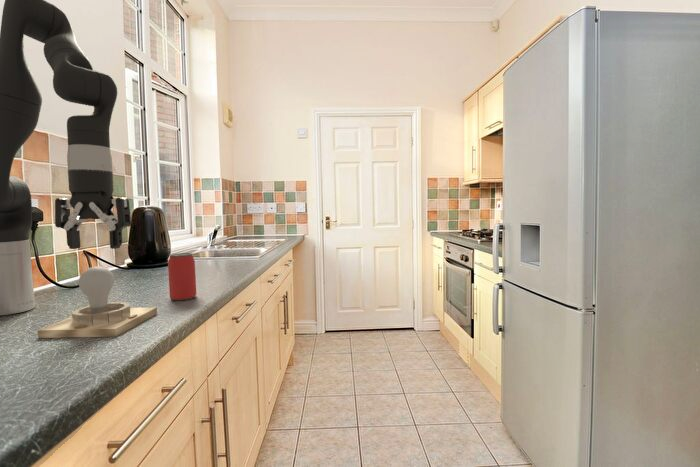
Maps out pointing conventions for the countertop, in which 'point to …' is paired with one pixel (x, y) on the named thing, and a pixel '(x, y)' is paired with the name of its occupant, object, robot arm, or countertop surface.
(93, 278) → the lightbulb
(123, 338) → the countertop surface
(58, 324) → the lamp holder
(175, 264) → the beer can
